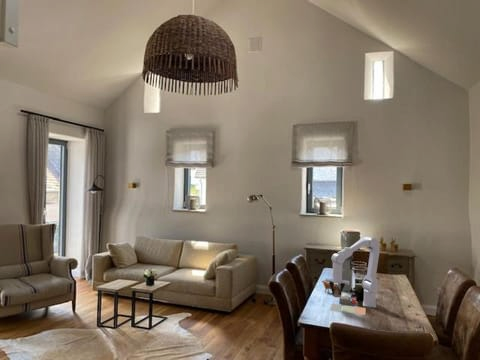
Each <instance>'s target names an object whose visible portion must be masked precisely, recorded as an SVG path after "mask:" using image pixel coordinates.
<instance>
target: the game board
mask: <svg viewBox="0 0 480 360" xmlns="http://www.w3.org/2000/svg"><path fill="white" fill-rule="evenodd" d="M329 311H332V312H341V313H346V314H354V315H361V316H366V313H367V312H366V311H367V310H366V307H360V306H359V307H358V306H353V305H345V304H338V303H337V304H336V303H332V304H331V307H330V309H329Z"/></svg>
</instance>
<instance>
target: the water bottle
mask: <svg viewBox="0 0 480 360" xmlns="http://www.w3.org/2000/svg"><path fill="white" fill-rule="evenodd" d="M353 259H354V255H353V254H352V255H351V256H350V257H348V258H346V259H345V260H344V263H342V280H346V281H349V285H347V284H345V286H344V288H343V290H342V292H346V291H348V292H351V291H352V290H353V270H352V269H354V266H353V264H354V263H355V262H354V261H353ZM351 263H352V264H351ZM351 265H352V266H351ZM354 265H355V264H354ZM337 285H338V287H339V289H340V283H337ZM351 289H352V290H351ZM350 290H351V291H350Z"/></svg>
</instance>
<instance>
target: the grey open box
mask: <svg viewBox="0 0 480 360" xmlns="http://www.w3.org/2000/svg"><path fill="white" fill-rule="evenodd" d="M341 297H342V295H341V296H340V297H339V302H338V303H339V305H346V306H354V307H358V301H357V298H355V297H351V296H349V300H348V299H341Z"/></svg>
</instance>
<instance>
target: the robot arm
mask: <svg viewBox="0 0 480 360" xmlns="http://www.w3.org/2000/svg"><path fill="white" fill-rule="evenodd" d="M379 245H380V242H379V240H378V239H377V237H376V238H375V237H372V236H367V235H364V236H363V237H361V238H360V239H358V241H356V242H355V243H354V244H352V245H351V246H350V247H348V246H347V247H346V246H345V247H343V248H342V250H339V251H337V253H333V254H332V256H331V257H330V258H331V261H332V278H325V279H324V280H325V282H329V285H330V287H331V289H330V291H331V294H332V296H334V284H338V283H340V296H342V292H343V291H342V290H343V288H344V286H345V284H347V285H349V281H346V280H342V263H344V260H345V259H346V258H348V257H350V256H351V255H352V254H353V253H354V252H356V251H357V250H359V249H362V248H363V247H364V248H367V249H368V250H369V258H368V265H367V272H366V275H365V276H363V280H362V282H361V287H362V288H363V301H362V306H363V307H368V308H377V301H376V298H377V296H376V293H377V292H378V291H379V281H378V279H377V278H376V276H377V272H378V271H377V270H378V264H379V257H380V250H381V249H380V246H379Z"/></svg>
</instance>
